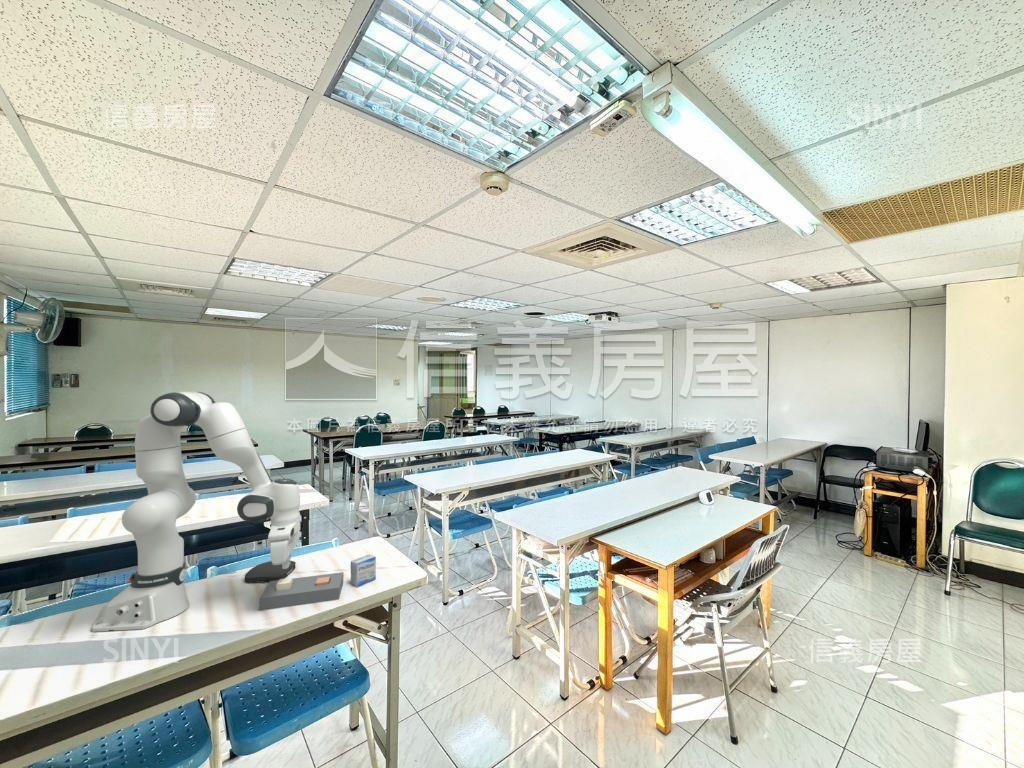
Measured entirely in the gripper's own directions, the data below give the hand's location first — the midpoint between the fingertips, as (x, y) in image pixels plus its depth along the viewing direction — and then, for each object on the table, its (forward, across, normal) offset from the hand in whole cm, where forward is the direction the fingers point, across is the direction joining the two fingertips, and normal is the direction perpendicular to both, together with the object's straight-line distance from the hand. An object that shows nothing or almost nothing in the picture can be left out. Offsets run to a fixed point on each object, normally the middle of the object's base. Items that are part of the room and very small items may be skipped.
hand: (286, 567), depth 135 cm
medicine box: (+12, -5, +24) cm, 27 cm away
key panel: (+11, 0, +5) cm, 12 cm away
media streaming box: (+11, -22, -11) cm, 27 cm away
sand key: (+8, 0, -1) cm, 8 cm away
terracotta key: (+9, 0, +11) cm, 15 cm away
